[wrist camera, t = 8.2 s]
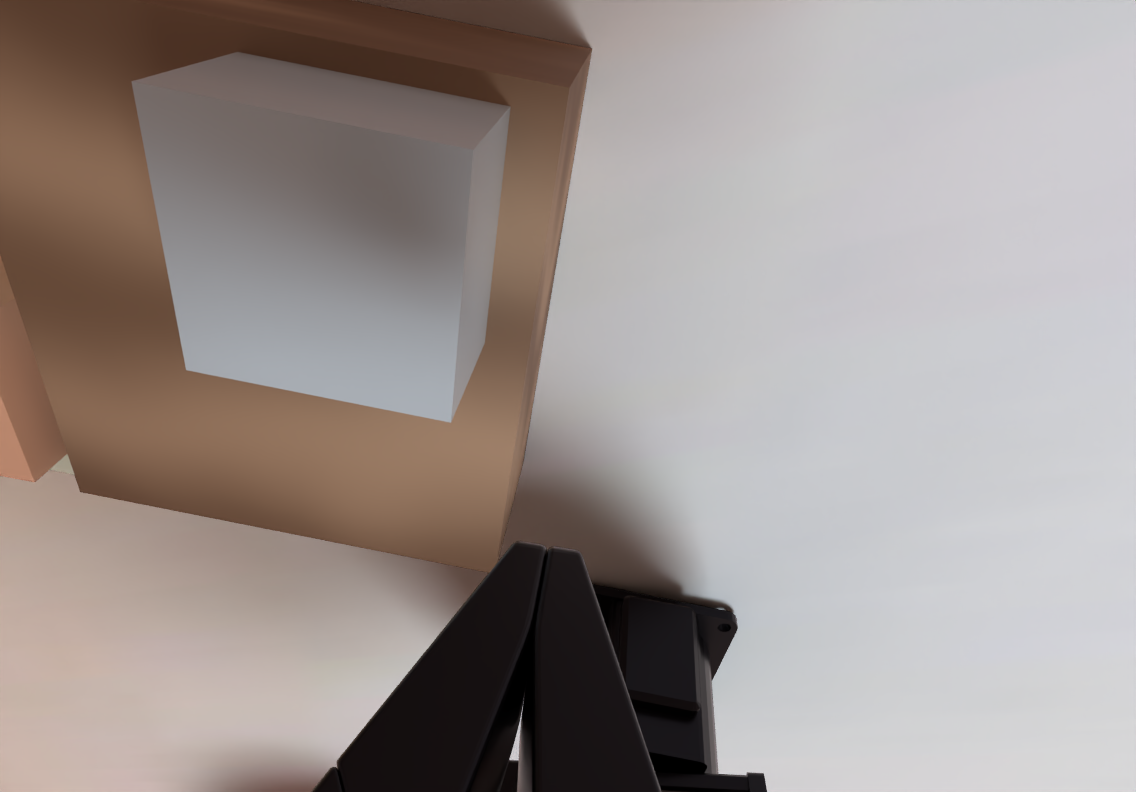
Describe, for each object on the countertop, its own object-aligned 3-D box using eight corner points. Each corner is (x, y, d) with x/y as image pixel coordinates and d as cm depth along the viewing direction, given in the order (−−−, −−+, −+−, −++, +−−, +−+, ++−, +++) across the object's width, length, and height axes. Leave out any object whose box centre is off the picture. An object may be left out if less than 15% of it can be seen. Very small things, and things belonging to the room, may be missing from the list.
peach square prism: (35, 482, 19) (-74, 461, 19) (148, 382, 23) (59, 365, 23) (-29, 322, 16) (-156, 298, 16) (113, 242, 20) (13, 223, 20)
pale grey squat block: (485, 342, 15) (450, 422, 13) (263, 298, 15) (186, 370, 13) (510, 106, 12) (473, 149, 10) (237, 52, 12) (131, 81, 10)
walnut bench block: (523, 462, 23) (494, 574, 19) (181, 393, 23) (80, 492, 19) (592, 48, 16) (569, 87, 12) (92, -52, 16) (-102, -47, 12)
